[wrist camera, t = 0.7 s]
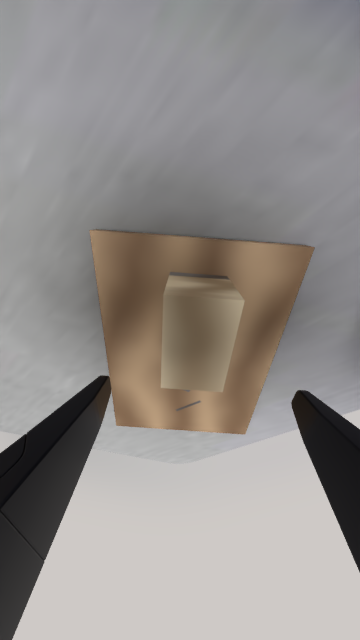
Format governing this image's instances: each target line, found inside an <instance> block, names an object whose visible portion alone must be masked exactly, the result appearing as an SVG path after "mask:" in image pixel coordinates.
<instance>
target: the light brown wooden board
mask: <svg viewBox="0 0 360 640" xmlns="http://www.w3.org/2000/svg"><path fill="white" fill-rule="evenodd" d="M90 237H91V244H92V252H93V259H94V266H95V273H96V281H97V288H98V295H99V302H100V310H101V317H102V324H103V331H104V339H105V346H106V353H107V360H108V368H109V375H110V382H111V389H112V397H113V404H114V411H115V418H116V426H129V427H144V428H159V429H173V430H188V431H202V432H217V433H232V434H245V433H246V430H247V428H248V425H249V422H250V420H251V417H252V414H253V412H254V409H255V406H256V404H257V401H258V398H259V396H260V393H261V390H262V388H263V385H264V382H265V379H266V377H267V374H268V371H269V369H270V366H271V363H272V361H273V358H274V355H275V353H276V350H277V347H278V345H279V342H280V339H281V337H282V334H283V331H284V329H285V326H286V323H287V321H288V318H289V315H290V312H291V310H292V307H293V304H294V302H295V299H296V296H297V294H298V291H299V288H300V286H301V283H302V280H303V278H304V275H305V272H306V270H307V267H308V264H309V262H310V259H311V256H312V254H313V251H314V248H315V247H311V246H306V245H294V244H281V243H268V242H255V241H242V240H228V239H215V238H202V237H189V236H176V235H163V234H150V233H137V232H124V231H110V230H97V229H96V230H90ZM170 272H179V273H192V274H206V275H219V276H227V277H228V278H229V279H230V281H231V282H232V283H233V285H234V286H235V288H236V289H237V290H238V292H239V293H240V295H241V296H242V297H243V299H244V300H245V302H244V306H243V310H242V314H241V318H240V322H239V327H238V331H237V335H236V339H235V343H234V347H233V351H232V355H231V360H230V364H229V368H228V372H227V376H226V380H225V384H224V388H223V392H211V391H197V390H183V389H169V388H161V359H162V325H163V294H164V291H165V287H166V284H167V281H168V277H169V274H170Z"/></svg>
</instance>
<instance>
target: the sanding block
mask: <svg viewBox="0 0 360 640" xmlns="http://www.w3.org/2000/svg"><path fill="white" fill-rule="evenodd" d="M244 302H245V300H244V299H243V297H242V296H241V295H240V293H239V292H238V290H237V289H236V288H235V286H234V285H233V283H232V282H231V281H230V279H229V278H228V277H227V276H219V275H206V274H192V273H179V272H170V274H169V277H168V281H167V284H166V287H165V291H164V294H163V325H162V359H161V388H169V389H183V390H197V391H211V392H223V388H224V384H225V380H226V376H227V372H228V368H229V364H230V360H231V355H232V351H233V347H234V343H235V339H236V335H237V331H238V327H239V322H240V318H241V314H242V310H243V306H244Z"/></svg>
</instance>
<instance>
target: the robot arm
mask: <svg viewBox="0 0 360 640" xmlns="http://www.w3.org/2000/svg"><path fill="white" fill-rule="evenodd" d="M110 394H111V382H110V377H109V376H99V377H98V378H97V379H95V380H94V381H93V382H91V383H90V384H89V385H88V386H86V387H85V388H84V389H82V390H81V391H80V392H79V393H77V394H76V395H75V396H74V397H72V398H71V399H70V400H68V401H67V402H66V403H65V404H63V405H62V406H61V407H59V408H58V409H57V410H56V411H54V412H53V413H52V414H50V415H49V416H48V417H47V418H45V419H44V420H43V421H41V422H40V423H39V424H38V425H36V426H35V427H34V428H33V429H31V430H30V431H29V432H27V434H25V435H23V436H22V437H21V438H20V439H18V440H17V441H16V442H14V443H13V444H12V445H10V446H9V447H8V448H7V449H5V450H4V451H3V452H1V453H0V640H12V638H13V636H14V634H15V631H16V629H17V626H18V624H19V622H20V619H21V617H22V614H23V612H24V610H25V607H26V605H27V602H28V600H29V598H30V595H31V593H32V590H33V588H34V586H35V583H36V581H37V578H38V576H39V574H40V571H41V569H42V566H43V564H44V560H45V559H46V557H47V554H48V552H49V549H50V547H51V545H52V542H53V540H54V537H55V535H56V533H57V530H58V528H59V525H60V523H61V521H62V518H63V516H64V513H65V511H66V508H67V506H68V504H69V501H70V499H71V497H72V494H73V491H74V489H75V487H76V485H77V482H78V480H79V477H80V475H81V472H82V470H83V468H84V465H85V463H86V461H87V458H88V456H89V453H90V451H91V449H92V446H93V444H94V441H95V439H96V437H97V434H98V432H99V429H100V427H101V424H102V421H103V418H104V414H105V411H106V408H107V404H108V401H109V398H110ZM292 409H293V412H294V415H295V418H296V421H297V424H298V427H299V430H300V433H301V436H302V439H303V442H304V444H305V446H306V449H307V451H308V454H309V456H310V458H311V460H312V463H313V465H314V467H315V469H316V472H317V474H318V477H319V479H320V481H321V484H322V486H323V488H324V490H325V493H326V495H327V497H328V500H329V502H330V505H331V507H332V509H333V511H334V514H335V516H336V518H337V521H338V523H339V525H340V528H341V530H342V532H343V535H344V537H345V539H346V542H347V544H348V546H349V549H350V551H351V553H352V555H353V558H354V560H355V562H356V564H357V567H358V569H359V572H360V429H358V428H357V427H356V426H354V425H353V424H352V423H350V422H349V421H348V420H346V419H345V418H343V417H342V416H341V415H339V414H338V413H337V412H335V411H334V410H333V409H331V408H330V407H329V406H327V405H326V404H325V403H323V402H322V401H321V400H319V399H318V398H317V397H315V396H314V395H312V394H311V393H310V392H308V391H305V390H298V391H297V392H296V394H295V396H294V398H293V400H292Z"/></svg>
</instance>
